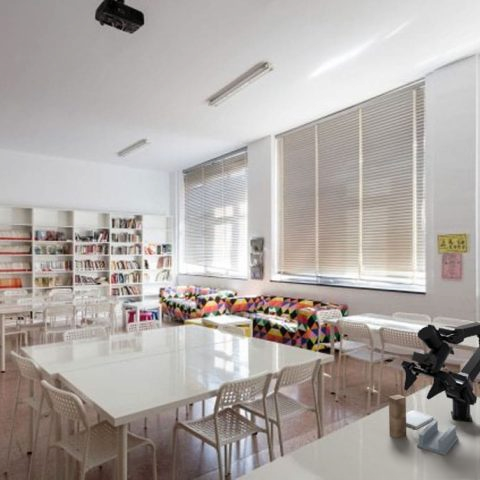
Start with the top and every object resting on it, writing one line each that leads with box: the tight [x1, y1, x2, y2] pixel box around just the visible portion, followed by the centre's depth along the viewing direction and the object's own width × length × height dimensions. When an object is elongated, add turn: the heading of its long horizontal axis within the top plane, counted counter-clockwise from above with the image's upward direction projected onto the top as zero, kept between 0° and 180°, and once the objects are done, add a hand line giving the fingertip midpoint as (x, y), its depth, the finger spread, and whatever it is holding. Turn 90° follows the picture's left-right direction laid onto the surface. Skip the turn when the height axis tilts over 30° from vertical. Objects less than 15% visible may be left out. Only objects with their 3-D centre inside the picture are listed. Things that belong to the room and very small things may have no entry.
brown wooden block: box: [388, 394, 407, 439], centre depth 134 cm, size 4×3×12 cm, turn 115°
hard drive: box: [406, 409, 435, 430], centre depth 145 cm, size 2×8×12 cm
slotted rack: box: [417, 419, 459, 456], centre depth 128 cm, size 14×8×4 cm, turn 137°
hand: (416, 394), depth 137 cm, fingers open, 9 cm apart
